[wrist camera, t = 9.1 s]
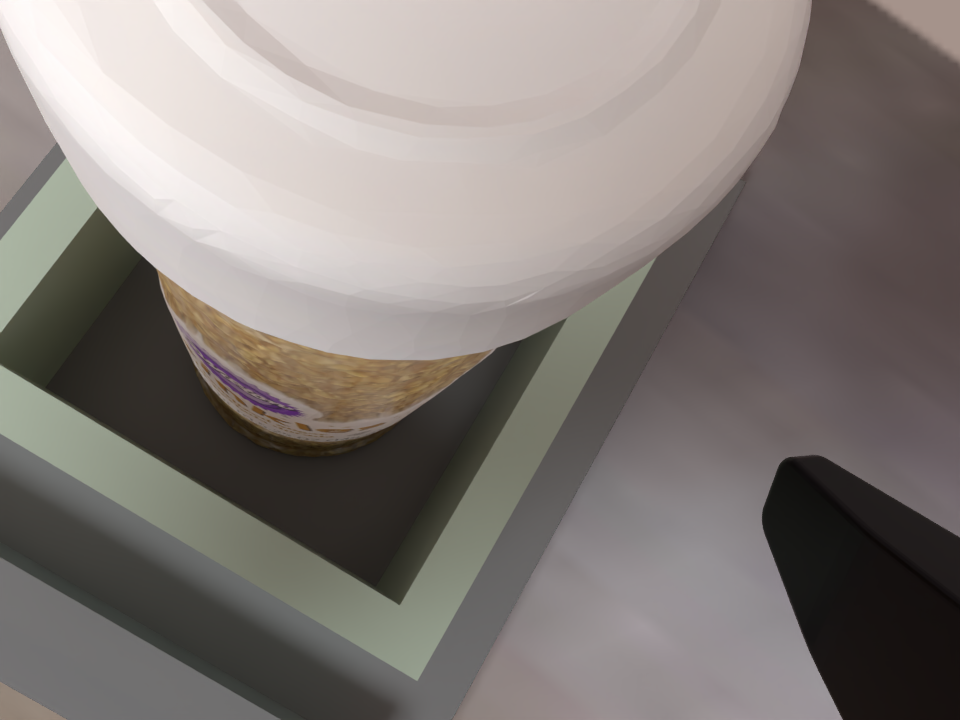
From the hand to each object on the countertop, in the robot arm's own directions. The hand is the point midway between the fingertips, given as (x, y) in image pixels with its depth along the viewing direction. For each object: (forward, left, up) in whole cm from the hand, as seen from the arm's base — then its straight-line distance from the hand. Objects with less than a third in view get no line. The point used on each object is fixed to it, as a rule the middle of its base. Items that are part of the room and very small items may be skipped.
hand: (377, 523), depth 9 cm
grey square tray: (+3, +2, -9) cm, 10 cm away
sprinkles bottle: (+3, +2, -8) cm, 9 cm away
